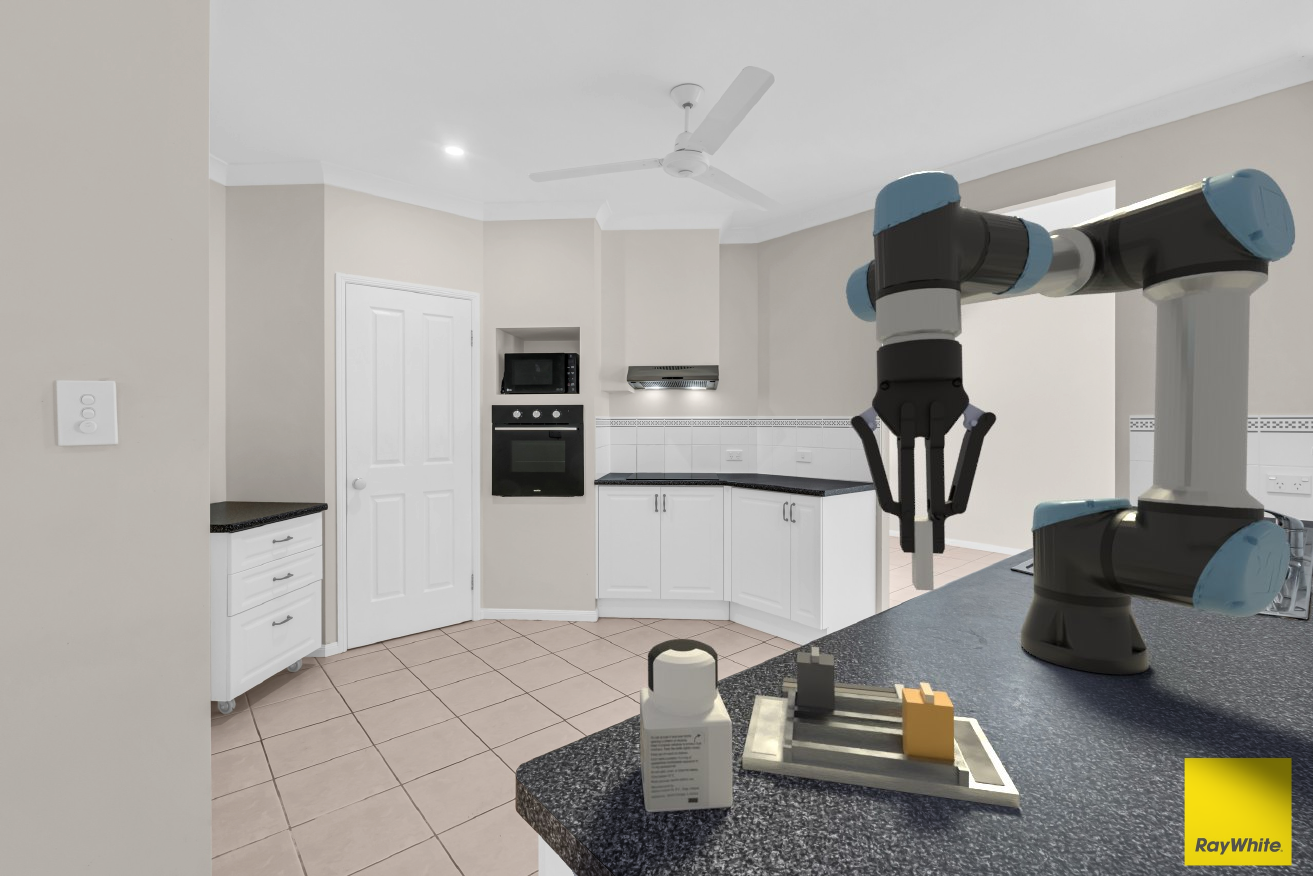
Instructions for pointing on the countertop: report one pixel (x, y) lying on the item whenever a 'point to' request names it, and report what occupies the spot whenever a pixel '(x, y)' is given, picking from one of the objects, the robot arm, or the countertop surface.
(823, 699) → the toggle
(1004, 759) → the countertop surface
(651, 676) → the container
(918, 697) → the toggle
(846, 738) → the panel
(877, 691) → the strapped plank bundle
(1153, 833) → the countertop surface
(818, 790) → the countertop surface
